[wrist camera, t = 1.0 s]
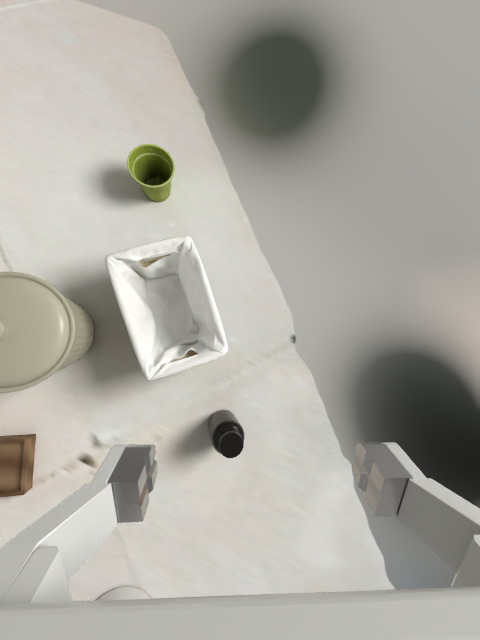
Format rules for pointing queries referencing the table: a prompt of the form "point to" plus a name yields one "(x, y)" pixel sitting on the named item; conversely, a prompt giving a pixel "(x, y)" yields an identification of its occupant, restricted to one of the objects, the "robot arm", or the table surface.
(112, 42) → the table surface
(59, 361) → the canister
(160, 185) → the plant pot
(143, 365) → the storage basket
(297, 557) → the table surface
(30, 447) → the walnut tray
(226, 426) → the supplement bottle
